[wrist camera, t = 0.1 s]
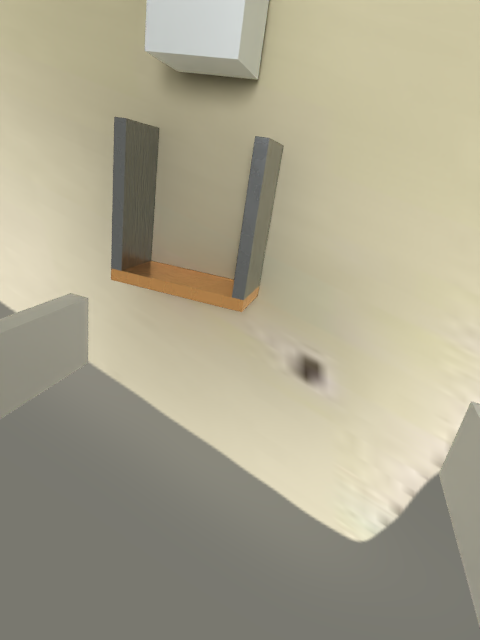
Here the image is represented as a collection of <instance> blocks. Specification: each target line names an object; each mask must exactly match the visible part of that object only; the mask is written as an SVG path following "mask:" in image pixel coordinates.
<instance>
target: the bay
mask: <svg viewBox="0 0 480 640" xmlns="http://www.w3.org/2000/svg"><path fill="white" fill-rule="evenodd" d="M158 139H159V128H157V127H154V126H150V125H147V124H143V123H140V122H137V121H133V120H130V119H126V118H119V117H115V118H114V165H113V212H112V259H111V280H115V281H119V282H123V283H127V284H131V285H135V286H139V287H143V288H147V289H151V290H155V291H159V292H163V293H167V294H171V295H175V296H179V297H183V298H187V299H191V300H195V301H199V302H203V303H207V304H211V305H215V306H219V307H224V308H228V309H232V310H236V311H240V312H242V311H243V310H244V309H245V308H246V307H247V306H248V305H249V304H250V303H251V302H252V301H253V300H254V299H255V298H256V297H257V296H258V290H259V285H260V279H261V273H262V267H263V261H264V256H265V250H266V244H267V238H268V232H269V227H270V221H271V215H272V209H273V203H274V198H275V192H276V186H277V180H278V174H279V169H280V163H281V157H282V151H283V145H281V144H280V143H278V142H276V141H274V140H272V139H270V138H265V137H258V136H255V142H254V148H253V155H252V162H251V169H250V176H249V183H248V189H247V196H246V203H245V210H244V217H243V224H242V231H241V237H240V244H239V251H238V258H237V265H236V272H235V278H234V280H233V279H229V278H224V277H220V276H216V275H211V274H207V273H203V272H198V271H194V270H189V269H185V268H181V267H176V266H172V265H168V264H163V263H159V262H154V261H151V254H152V238H153V221H154V205H155V188H156V172H157V155H158Z"/></svg>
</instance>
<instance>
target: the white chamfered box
mask: <svg viewBox="0 0 480 640" xmlns="http://www.w3.org/2000/svg"><path fill="white" fill-rule="evenodd" d="M268 4H269V0H147V9H146V31H145V51H146V52H147V53H149V54H150V55H152V56H154V57H155V58H157V59H158V60H160V61H162V62H163V63H165V64H166V65H168V66H170V67H171V68H173V69H174V70H176V71H178V72H187V73H197V74H207V75H217V76H227V77H237V78H246V79H256V80H258V75H259V68H260V61H261V54H262V47H263V40H264V33H265V26H266V18H267V11H268Z"/></svg>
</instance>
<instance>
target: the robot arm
mask: <svg viewBox="0 0 480 640" xmlns="http://www.w3.org/2000/svg"><path fill="white" fill-rule="evenodd" d="M86 364H88V298H86V297H82V296H79V295H75V294H71V293H70V294H67V295H65V296H62V297H59V298H56V299H54V300H51V301H48V302H45V303H43V304H40V305H37V306H34V307H31V308H29V309H26V310H23V311H20V312H18V313H15V314H12V315H9V316H7V317H4V318H1V319H0V419H1V418H3V417H5V416H6V415H8V414H9V413H11V412H12V411H14V410H15V409H17V408H19V407H20V406H22V405H23V404H25V403H27V402H28V401H30V400H31V399H33V398H34V397H36V396H38V395H39V394H41V393H42V392H44V391H45V390H47V389H49V388H50V387H51V386H53V385H55V384H56V383H58V382H59V381H61V380H63V379H64V378H66V377H67V376H69V375H70V374H72V373H73V372H75V371H77V370H78V369H80V368H81V367H83V366H84V365H86ZM439 476H440V480H441V483H442V487H443V491H444V495H445V498H446V502H447V506H448V510H449V514H450V518H451V521H452V525H453V529H454V533H455V536H456V540H457V544H458V547H459V552H460V555H461V559H462V563H463V567H464V570H465V574H466V578H467V582H468V585H469V589H470V593H471V597H472V601H473V604H474V608H475V612H476V615H477V619H478V623H479V627H480V404H478V403H475V402H471V403H470V405H469V408H468V410H467V412H466V414H465V417H464V419H463V421H462V423H461V426H460V428H459V430H458V432H457V434H456V437H455V439H454V441H453V443H452V446H451V448H450V450H449V452H448V455H447V457H446V459H445V461H444V463H443V466H442V468H441V470H440V472H439Z"/></svg>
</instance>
